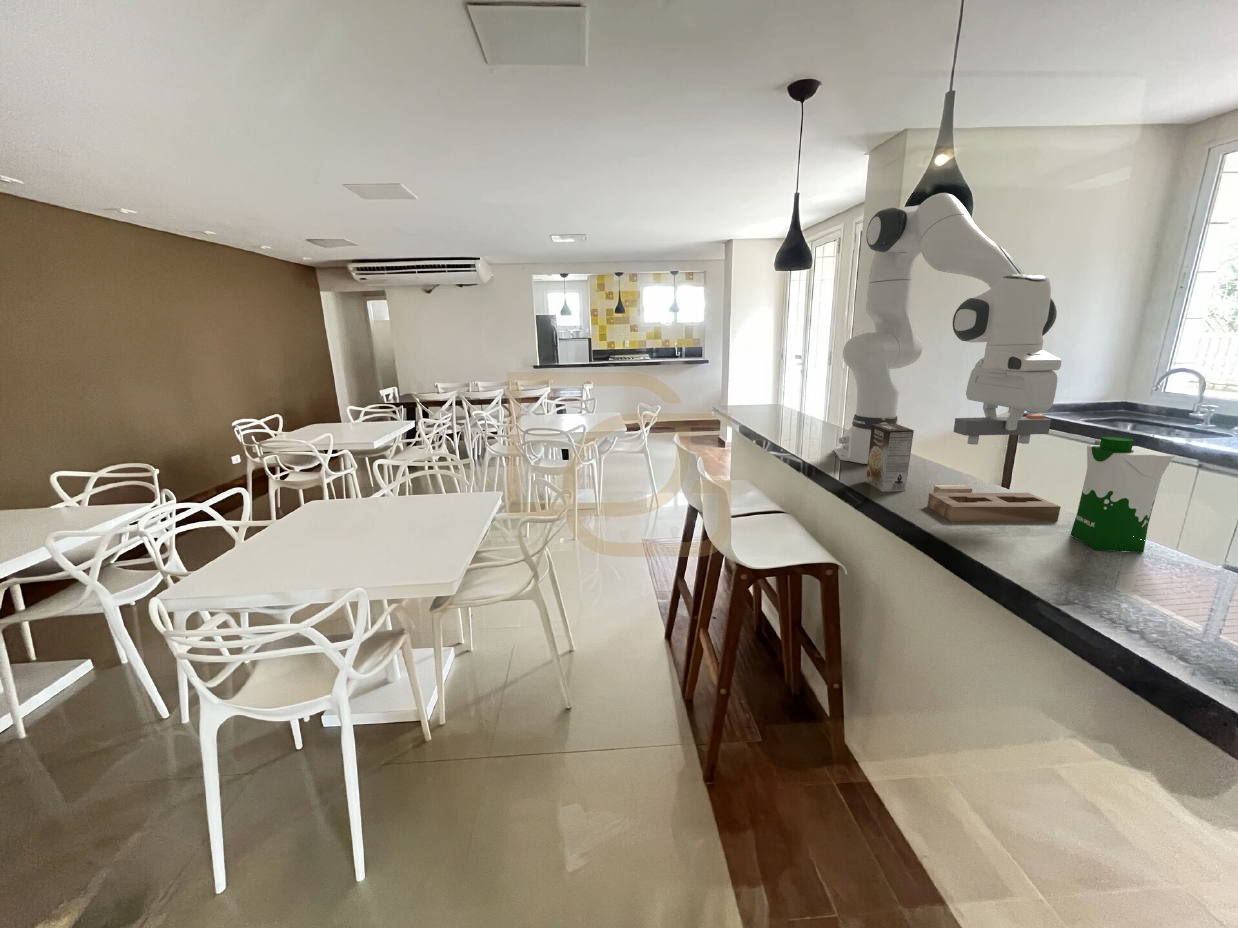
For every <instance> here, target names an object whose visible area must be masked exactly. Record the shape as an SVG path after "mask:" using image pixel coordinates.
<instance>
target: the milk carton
mask: <svg viewBox="0 0 1238 928" xmlns="http://www.w3.org/2000/svg"><path fill="white" fill-rule="evenodd" d="M1134 442H1135V441H1134V439H1133V438H1129V437H1123V436H1114V435H1113V436H1111V435H1109V436H1107V435H1105V436H1101V438H1100V442H1099V444H1091V445H1090V444H1088V445H1086V457H1087V458H1086V464H1087V466H1086V472H1085V477H1084V482H1083V486H1082V491H1081V495H1080V500H1079V503H1078V508H1077V512H1076V515H1075V519H1074V522H1073V525H1072V528H1071V530H1070V536H1071V537H1073V538H1075V539H1076V538H1077V539H1076V540H1078V541H1080V542H1081V541H1082V543H1083V544H1085V545H1087V546H1088V545H1089V547H1090V548H1092V549H1094V550H1095V549H1096V550H1095V551H1100V550H1102V551H1103V550H1104V551H1105V552H1106V551H1107V552H1121V551H1130V552H1129V553H1141V554H1142V553H1144V551H1145V548H1146V547H1145V546H1146V539H1147V533H1148V530H1149V529H1148V528H1149V524H1150V519H1151V516H1152V511H1153V509H1154V504H1155V501H1156V497H1157V494H1158V491H1159V486H1160V484H1161V479H1162V476H1163V475H1164V473H1165V471H1167V468H1168V466H1169V465H1170V463H1171V462H1172V460H1173V458H1174V455H1171V454H1169V453H1163V452H1161V451H1156V450H1153V449H1149V448H1146V447H1142V446H1137V445H1134ZM1133 536H1134V537H1133ZM1140 539H1142V540H1140ZM1144 540H1145V541H1144Z"/></svg>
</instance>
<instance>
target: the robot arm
mask: <svg viewBox="0 0 1238 928" xmlns="http://www.w3.org/2000/svg"><path fill="white" fill-rule="evenodd" d="M865 237H866V243H867V245H868V247H869V249H870V250H872V251H874V254H873V256H872V261H871V265H870V269H869V274H868V281H867V283H868V284H867V294H866V304H865V311H866V313H867V315H868V317H870V318H871V320H872V321H873V323H874V327H875V332H863V333H862V334H858V335H856V336H853V337H851V338H850V339H848V340H847V341H846V343H845V345H844V347H843V351H842V359H843V362H844V363H845V364H846V366H847V367H848V368H849V369H850V370H851V372H852V374H853V375H854V380H855V383H856V389H857V392H856V393H857V394H856V396H857V397H856V409H855V414H854V415H853V418H852V423H851V427H850V428H848V429H847V431H845V432H844V433H843V435H842V436H839V439H838V443H839V444H840V445H841V446H840V445H839V446H834V447H833V451H834V452H835V454H836V456H837V457H838V459H839V460H840V461H845V462H846V461H848V462H852V463H857V464H863V465H865V464H866V465H868V455H869V446H870V437H871V428H872V424H894V423H896V424H899V423H898V415H897V413H898V403H899V395H900V393H899V392H900V391H899V389H898V387H897V386H896V385H895V384H893V382H892V378H891V373H890V372H891V371H890V370H892V369H895V370H896V369H901V368H904V367H908V366H909V365H912V364H914V363H916V362H917V361H918V359H920V357H921V355H922V353H923V343H922V341H921V339H920V337H918V335H917V334H916V332H915V330H914V327H913V323H912V319H911V311H910V309H911V308H910V306H911V305H910V304H911V295H912V294H911V291H912V284H913V283H912V281H913V272H914V271H913V269H914V263H915V260H916V258H917V256H918V255H920V254H921V255H922V257H923V259H924V260H925V262H927V264H928V265H929V266H931V268H932V269H934V270H936V271H939V272H942V273H948V274H949V273H950V274H954V275H955V274H956V275H962V276H967V277H970V278H971V277H972V278H974V279H978V280H979V281H982V282H984V283H985V284H986V285H988V287H989V288H990V289H988V290H986V291H985V292H983V293H981V294H978V295H977V296H974V297H970V298H967V299H966V300H964V301H963V302H962V303H960V305H959V306H958V307H957V309H956V310H955V312H954V315H953V316H952V317H953V318H952V329H953V332H954V335H955V336H956V337H957V338H958V340H960V341H962V342H967V343H986V344H985V350H984V354H983V355H984V356H983V357H982V358H980V359H979V360H978V361H977V362H976V363H975V364H974V368H973V369H972V370H971V372H970V375H969V377H968V382H967V385H966V391H965V396H966V399H967V400H968V401H972V402H976V403H977V402H978V403H983V405H982V409H983V412H984V416H985V417H997V410H996V409H998V408H999V407H1003V408H1008V410H1007V413H1009V415H1008V416H1007V417H1008V418H1007V420H1006V421H1003V426H1002V428H1003V429H1006V430H1016V428H1017V423H1018V421H1019V420H1020V419H1021V417H1024V415H1025V412H1031V413H1032V412H1033V413H1034V412H1038V413H1039V412H1048V411H1049V410H1050V409H1051V407H1052V406H1053V404H1054V401H1055V397H1056V391H1057V387H1058V386H1057V385H1058V374H1057V373H1056V372H1055V371H1058V370H1060V369H1061V367H1062V359H1061V358H1059V357H1058V356H1056V355H1054V354H1052V353H1049V352H1048V351H1046V350H1045V349H1043V346H1044V336H1045V334H1047V333H1048V332H1049V331H1050V330H1051V328H1052V327H1053V326H1054V324H1055V322H1056V320H1057V313H1058V312H1057V306H1056V304H1055V301H1054V300H1053V298H1052V296H1051V293H1052V291H1051V289H1052V288H1051V281H1050V279H1049V277H1047V276H1045V275H1043V274H1036V273H1035V274H1031V273H1030V274H1026V273H1025V272H1024V271H1023V270H1022V268H1021V267H1020V266H1019V265H1018V263H1017V262H1016V261H1015V260H1014V259H1013V257H1012V256H1011V255H1010V254H1009V253H1008V252H1007V251H1006V250H1005V249H1004V248H1003V247H1002V246H1001V245H999V244H997V243H996V242H995V241H993V240H992V239H991V238H989V236H987V235H986V234H985V233H984V232H983V231H982V230H981V229H980V228H979V227H978V226H977V225H976V223H975V221H974V220H973V217H972V216H971V214H970V212H969V211H968V210H967V208H966V207H965V206H964V204H963V203H962V202H961V201H960V200H959V199H958V198H957V197H956V196H955V195H953V194H950V193H948V192H939V193H936V194H932V195H931V196H929V197H927V198H926V199H925V200H924V201H923V202H921V203H920V204H917V205H916V204H915V205H914V206H913V205H912V206H911V205H910V206H903V207H902V206H901V207H889V208H884V209H882V210H879V211H877V212H876V213H875V214H874V215H873V216H872V217H871V219H870V221H869V223H868V226H867V229H866V236H865ZM998 406H999V407H998Z"/></svg>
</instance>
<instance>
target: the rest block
mask: <svg viewBox="0 0 1238 928" xmlns="http://www.w3.org/2000/svg"><path fill="white" fill-rule="evenodd" d="M932 493H973V488H972V487H970V486H967V485H966V484H934V486H933V492H932Z"/></svg>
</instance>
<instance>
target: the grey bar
mask: <svg viewBox="0 0 1238 928" xmlns="http://www.w3.org/2000/svg"><path fill="white" fill-rule="evenodd" d="M1008 417H1009V416H996V417H986V416H985V417H955V418H954V426H953V433H955V434H959V435H962V436H964V437H965V436H967V444H968V445H972V446H973V445H975V446H977V445H979V440H980V436H1008V435H1009V436H1010V435H1011V436H1012V435H1013V436H1017V435H1018V439H1017V443H1018V444H1023V445H1024V444H1025V445H1028V444H1030V440H1031V439H1030V438H1031V435H1049V433H1050V428H1051V422H1052V419H1051V418H1046V415H1045V414H1036V413H1035V414H1026V416H1022V417H1021V419H1020V420H1019V421H1018V423H1017V428H1016V430H1006V429H1003V428H1002V426H1003V421H1006V420H1007V418H1008Z"/></svg>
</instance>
